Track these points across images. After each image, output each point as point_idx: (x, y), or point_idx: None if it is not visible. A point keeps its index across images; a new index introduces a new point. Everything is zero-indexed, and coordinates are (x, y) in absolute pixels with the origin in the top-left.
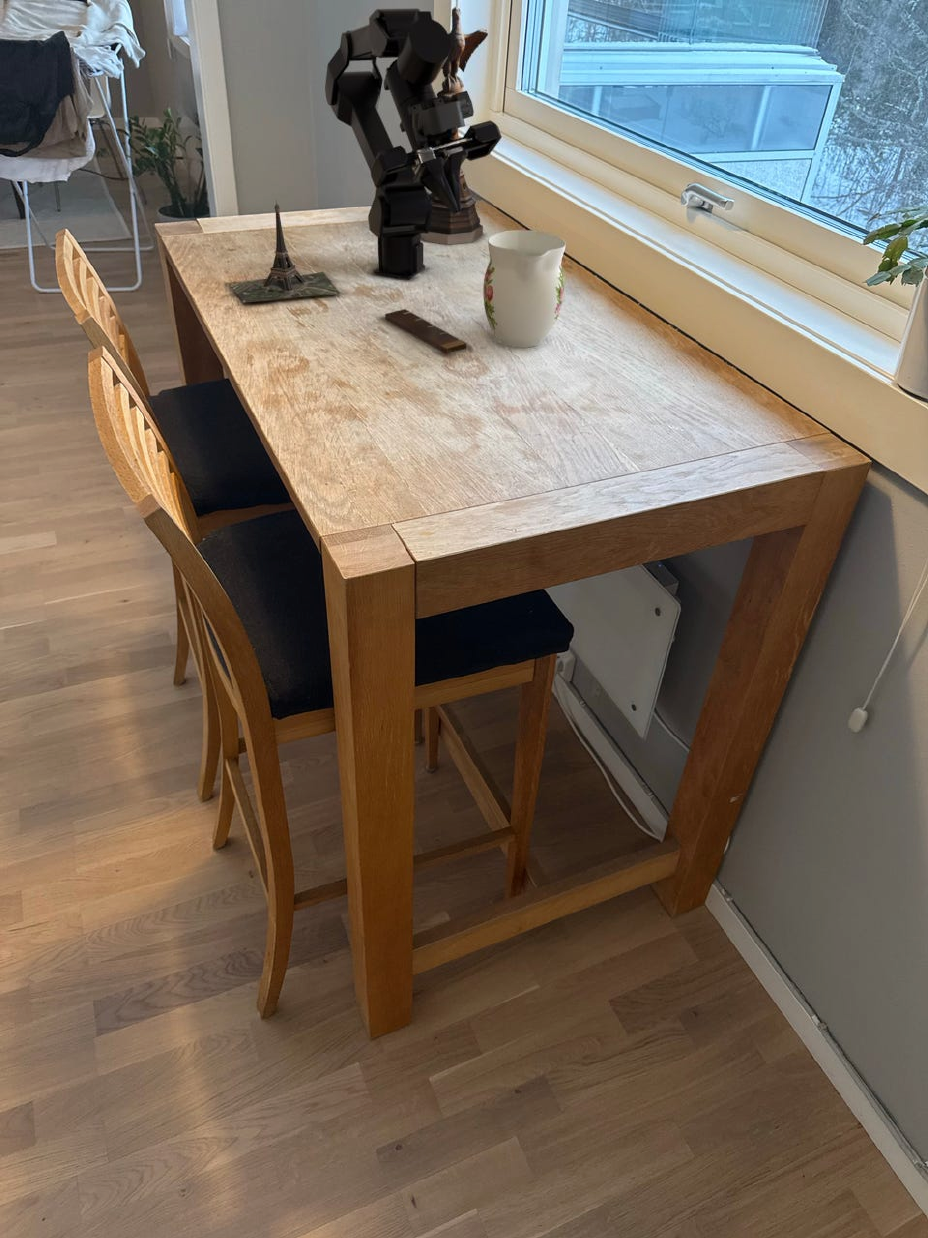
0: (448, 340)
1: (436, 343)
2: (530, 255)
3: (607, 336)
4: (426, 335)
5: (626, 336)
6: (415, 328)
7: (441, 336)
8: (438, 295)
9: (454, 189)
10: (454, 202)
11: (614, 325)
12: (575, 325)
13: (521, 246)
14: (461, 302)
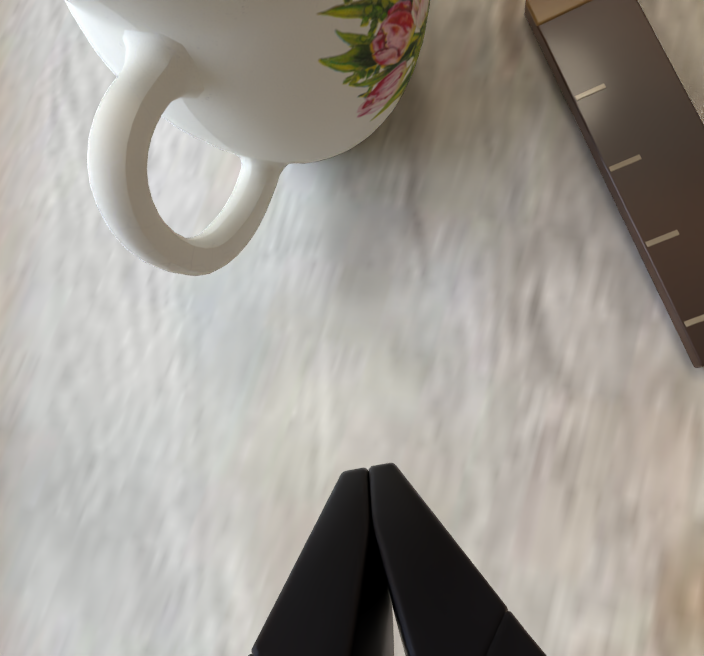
0: (587, 26)
1: (640, 6)
2: (120, 45)
3: (69, 73)
4: (665, 76)
5: (23, 68)
6: (697, 147)
7: (605, 63)
8: (491, 549)
9: (348, 607)
10: (391, 505)
11: (16, 149)
12: None
13: (137, 22)
14: (417, 445)
